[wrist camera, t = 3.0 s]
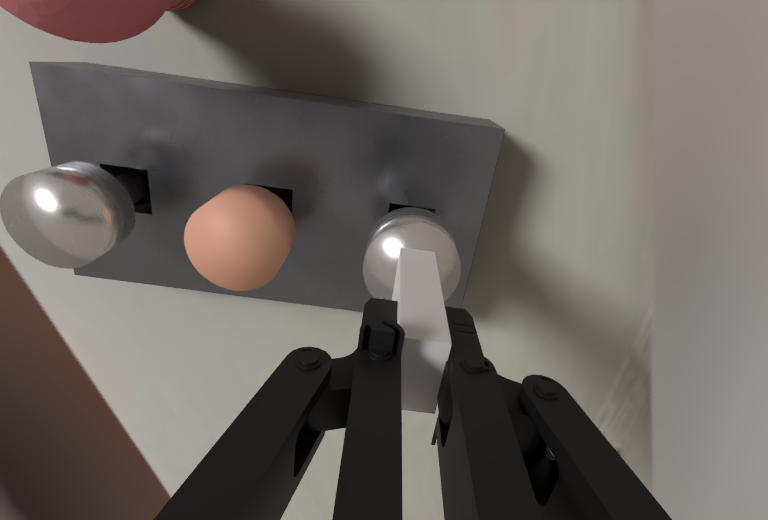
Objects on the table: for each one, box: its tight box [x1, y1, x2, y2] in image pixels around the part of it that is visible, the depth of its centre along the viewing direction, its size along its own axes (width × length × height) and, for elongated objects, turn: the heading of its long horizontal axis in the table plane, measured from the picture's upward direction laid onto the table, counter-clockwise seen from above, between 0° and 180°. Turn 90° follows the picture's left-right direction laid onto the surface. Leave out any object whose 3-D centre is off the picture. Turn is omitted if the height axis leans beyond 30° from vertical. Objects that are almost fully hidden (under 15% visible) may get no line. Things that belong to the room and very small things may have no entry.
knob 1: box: [0, 161, 146, 268], centre depth 21 cm, size 4×4×6 cm
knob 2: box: [184, 185, 296, 291], centre depth 21 cm, size 4×4×6 cm
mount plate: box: [29, 62, 505, 312], centre depth 25 cm, size 12×24×4 cm, turn 82°
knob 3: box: [363, 207, 461, 302], centre depth 21 cm, size 4×4×6 cm
